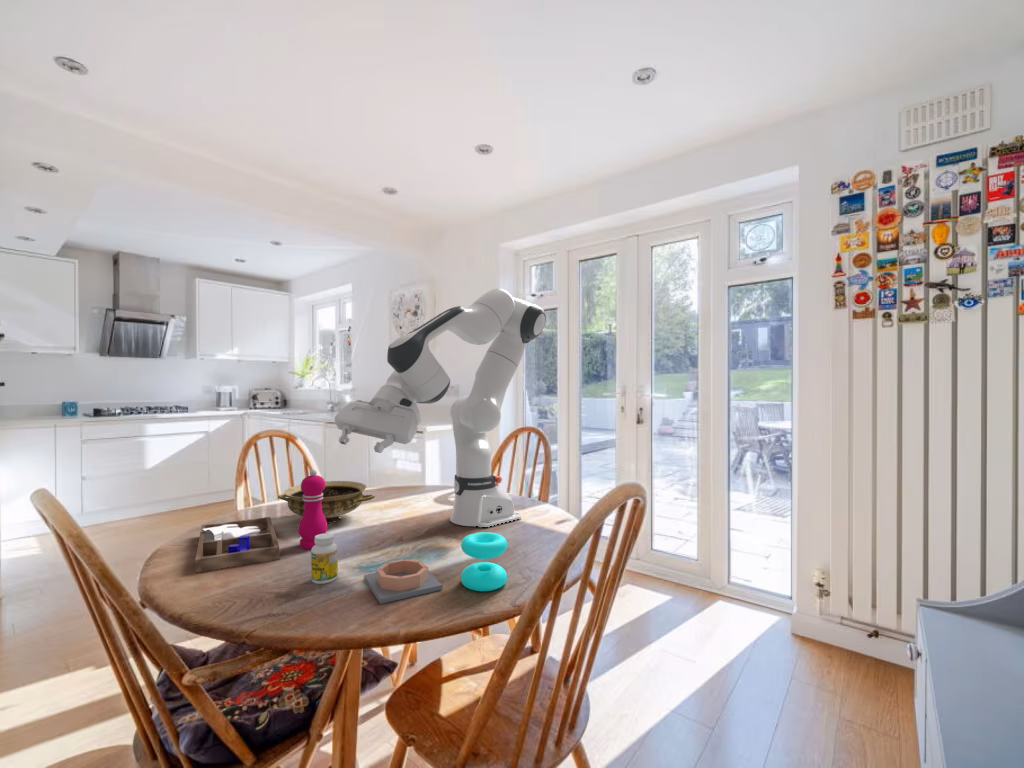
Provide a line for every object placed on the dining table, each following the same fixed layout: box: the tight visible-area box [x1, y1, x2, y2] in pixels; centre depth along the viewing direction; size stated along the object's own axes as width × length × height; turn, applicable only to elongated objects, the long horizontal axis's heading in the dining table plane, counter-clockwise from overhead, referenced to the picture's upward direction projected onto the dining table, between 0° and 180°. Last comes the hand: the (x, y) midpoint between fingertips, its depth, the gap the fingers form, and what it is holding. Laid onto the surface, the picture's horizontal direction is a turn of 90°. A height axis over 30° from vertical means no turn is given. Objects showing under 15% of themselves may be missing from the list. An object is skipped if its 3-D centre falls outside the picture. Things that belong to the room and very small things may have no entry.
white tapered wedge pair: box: [200, 524, 261, 542], centre depth 128 cm, size 12×4×11 cm
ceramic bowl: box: [277, 480, 376, 524], centre depth 148 cm, size 30×24×10 cm
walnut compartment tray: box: [194, 516, 280, 574], centre depth 124 cm, size 17×29×3 cm, turn 31°
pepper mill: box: [297, 469, 328, 550], centre depth 125 cm, size 7×7×20 cm
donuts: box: [460, 531, 508, 592], centre depth 103 cm, size 10×10×10 cm
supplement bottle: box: [310, 532, 339, 585], centre depth 104 cm, size 5×5×10 cm
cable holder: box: [227, 536, 250, 554], centre depth 117 cm, size 8×4×4 cm, turn 11°
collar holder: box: [363, 558, 443, 605], centre depth 102 cm, size 13×13×4 cm
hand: (359, 446), depth 110 cm, fingers open, 8 cm apart
